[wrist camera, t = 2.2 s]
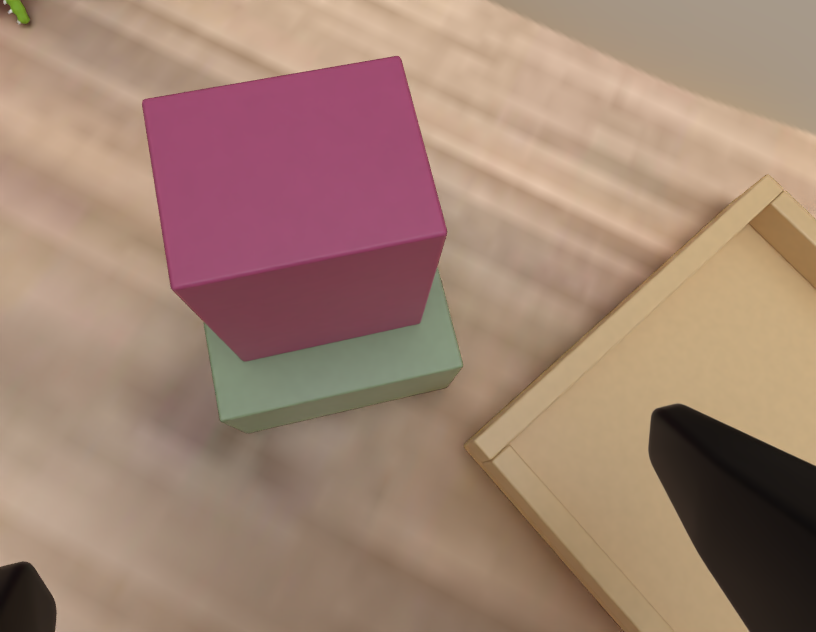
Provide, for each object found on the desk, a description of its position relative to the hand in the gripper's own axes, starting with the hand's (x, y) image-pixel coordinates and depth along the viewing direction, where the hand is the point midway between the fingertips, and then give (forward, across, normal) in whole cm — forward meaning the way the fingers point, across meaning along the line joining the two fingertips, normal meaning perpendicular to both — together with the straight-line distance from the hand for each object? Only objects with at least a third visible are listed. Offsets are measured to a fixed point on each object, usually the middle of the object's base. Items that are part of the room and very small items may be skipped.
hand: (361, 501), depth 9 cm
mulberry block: (+11, 0, +2) cm, 11 cm away
